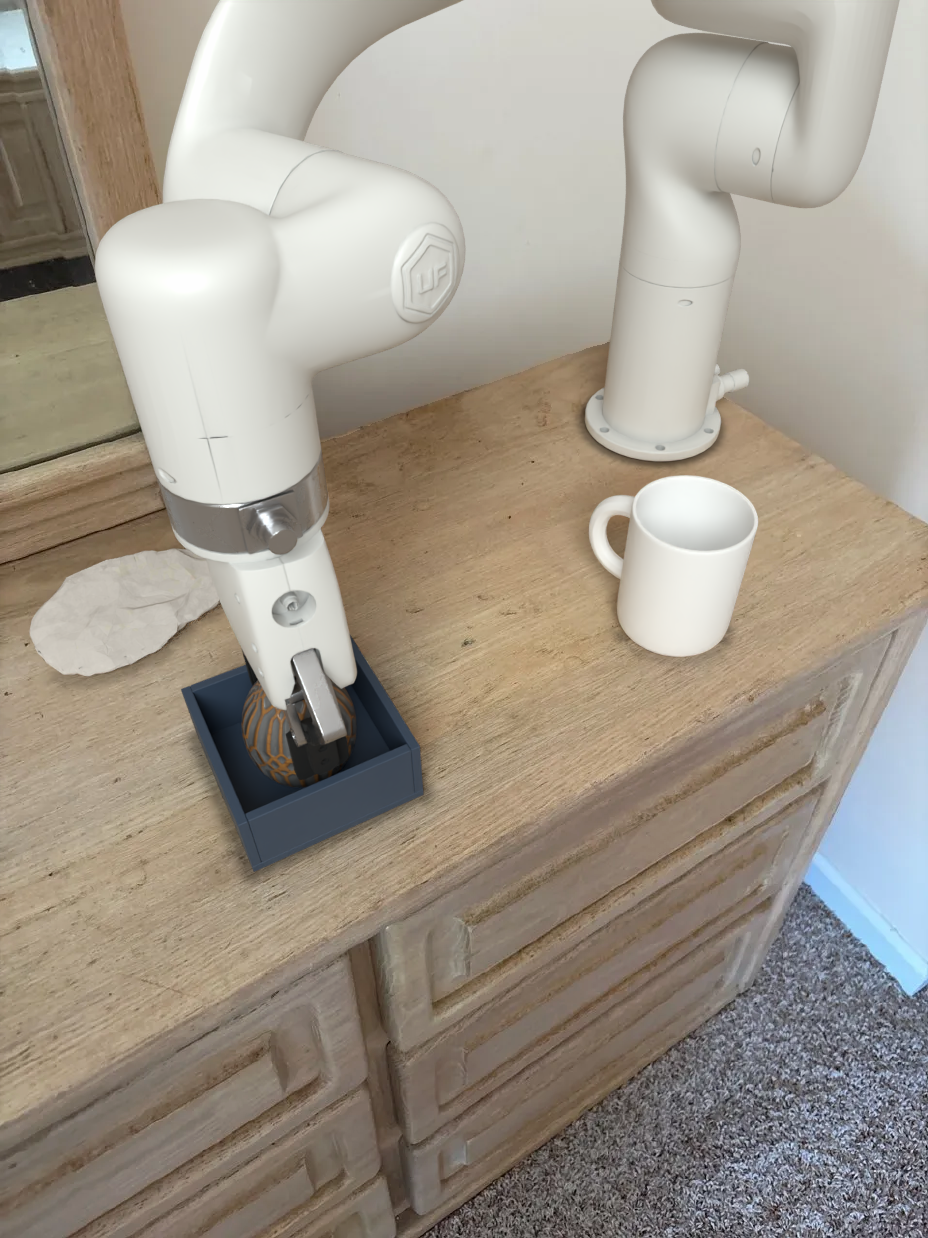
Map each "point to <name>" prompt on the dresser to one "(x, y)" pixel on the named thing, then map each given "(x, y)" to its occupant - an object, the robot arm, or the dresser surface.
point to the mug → (677, 561)
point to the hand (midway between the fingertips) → (298, 719)
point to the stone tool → (121, 610)
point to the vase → (269, 731)
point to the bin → (311, 814)
